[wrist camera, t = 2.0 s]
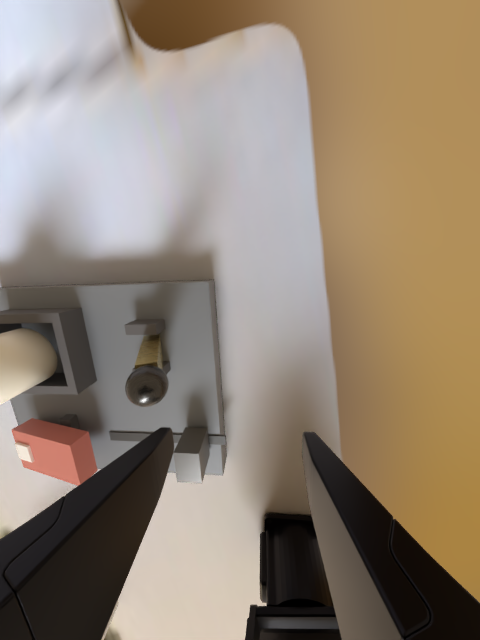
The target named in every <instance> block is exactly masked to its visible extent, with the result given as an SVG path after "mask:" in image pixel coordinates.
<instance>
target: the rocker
mask: <svg viewBox="0 0 480 640" xmlns="http://www.w3.org/2000/svg"><path fill="white" fill-rule="evenodd" d="M12 433H13V436H14V439H15V442H16V443H15V446H16V449H17V452H18V455H19V458H20V459H21V460H22V463H23V466H24V467H25V468H28V469H31V470H34V471H37V472H40V473H43V474H45V475H48V476H51V477H54V478H57V479H60V480H63V481H66V482H69V483H72V484H75V485H78V486H79V485H80V484H82V483H83V482H84V481H86V480H87V479H89V478H90V477H91V476H92V475H93V474H94V473H95V472H96V471H97V465H96V461H95V457H94V453H93V448H92V444H91V440H90V436H89V432H88V431H84V430H80V429H75V428H71V427H67V426H63V425H59V424H55V423H50V422H46V421H42V420H38V419H34V418H32V419H30V420H28V421H26V422H24V423H23V424H21V425H19V426H17V427H16V428H14V429H12Z"/></svg>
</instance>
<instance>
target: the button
mask: <svg viewBox="0 0 480 640" xmlns="http://www.w3.org/2000/svg"><path fill="white" fill-rule="evenodd" d="M56 368H57V355H56V352H55V350H54V348H53V346H52V344H51V343H50V342H49V341H48V339H47V338H45V337H44V336H43V335H42V334H40V333H39V332H37V331H35V330H32V329H27V328H19V329H15V330H12V331H8V332H5V333H1V334H0V404H2V403H4V402H6V401H8V400H10V399H11V398H13V397H15V396H17V395H19V394H21V393H22V392H24V391H26V390H28V389H30V388H32V387H33V386H35V385H37V384H39V383H41V382H43V381H44V380H46V379H48V378H50V377H51V376H52V375H53V374H54V372H55V371H56Z"/></svg>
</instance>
